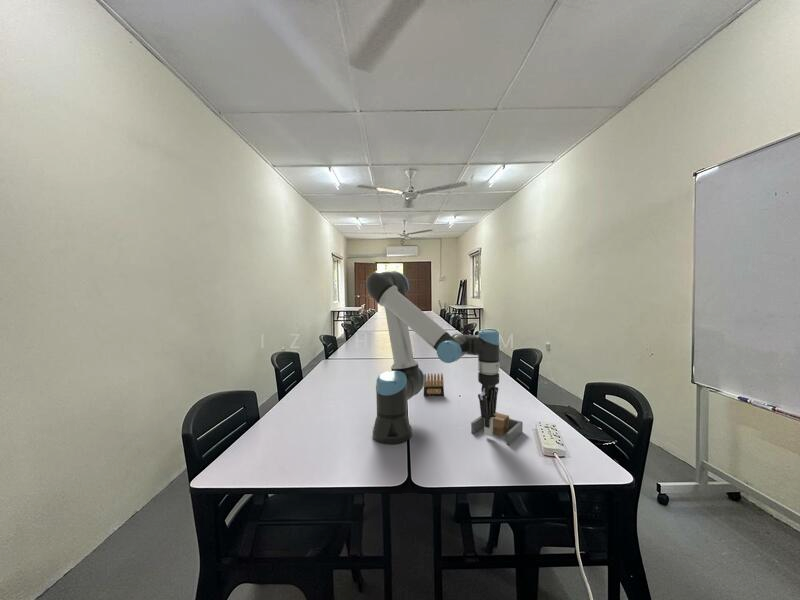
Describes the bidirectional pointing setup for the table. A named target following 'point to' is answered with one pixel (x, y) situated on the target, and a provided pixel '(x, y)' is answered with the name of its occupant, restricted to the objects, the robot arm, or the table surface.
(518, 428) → the corral
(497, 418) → the block
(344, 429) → the table surface
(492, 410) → the robot arm
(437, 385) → the ammunition clip
